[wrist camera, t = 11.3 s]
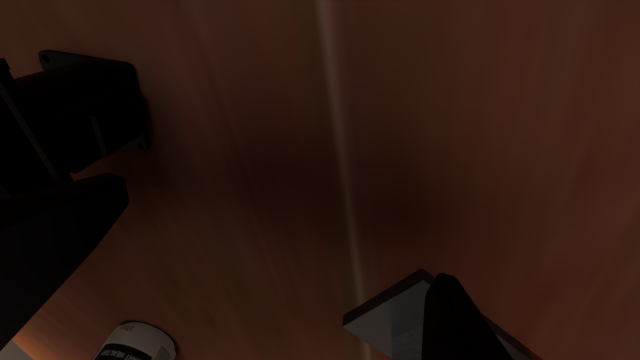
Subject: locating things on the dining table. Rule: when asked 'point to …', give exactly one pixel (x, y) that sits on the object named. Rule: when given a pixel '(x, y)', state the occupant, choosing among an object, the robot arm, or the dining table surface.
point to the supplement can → (136, 344)
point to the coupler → (408, 317)
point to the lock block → (408, 345)
